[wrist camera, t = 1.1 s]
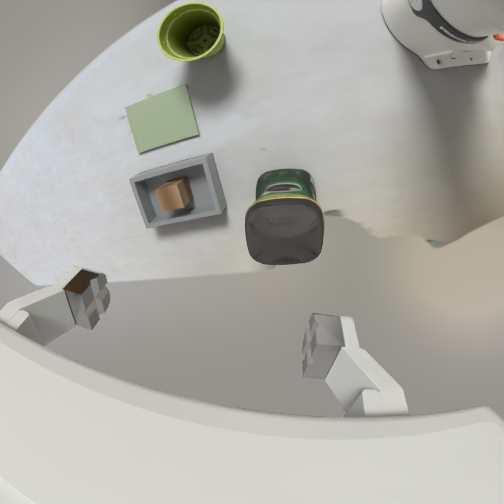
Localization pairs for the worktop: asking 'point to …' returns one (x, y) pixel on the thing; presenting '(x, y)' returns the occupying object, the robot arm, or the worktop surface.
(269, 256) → the coffee jar
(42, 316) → the robot arm
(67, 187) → the worktop surface
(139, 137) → the olive mat
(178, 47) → the plant pot
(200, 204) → the grey bin
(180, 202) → the walnut block
